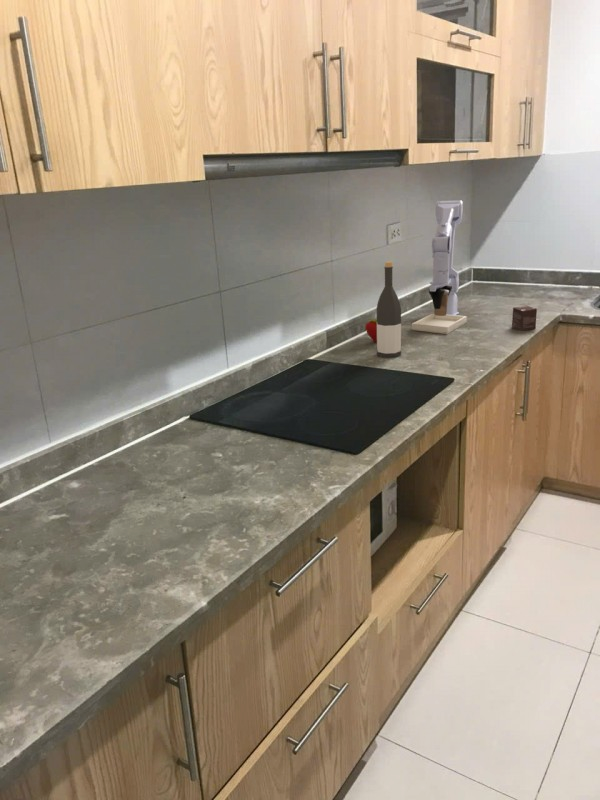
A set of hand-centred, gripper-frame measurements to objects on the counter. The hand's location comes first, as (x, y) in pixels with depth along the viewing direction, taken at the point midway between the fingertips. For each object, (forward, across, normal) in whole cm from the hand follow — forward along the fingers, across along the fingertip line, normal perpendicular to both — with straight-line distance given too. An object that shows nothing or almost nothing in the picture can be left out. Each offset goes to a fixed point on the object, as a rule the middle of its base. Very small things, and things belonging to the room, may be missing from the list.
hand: (440, 307), depth 238 cm
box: (+8, -10, +28) cm, 31 cm away
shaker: (+3, 0, 0) cm, 3 cm away
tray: (+7, 0, 0) cm, 7 cm away
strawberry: (+8, +29, -11) cm, 32 cm away
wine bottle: (+8, +40, 0) cm, 41 cm away
